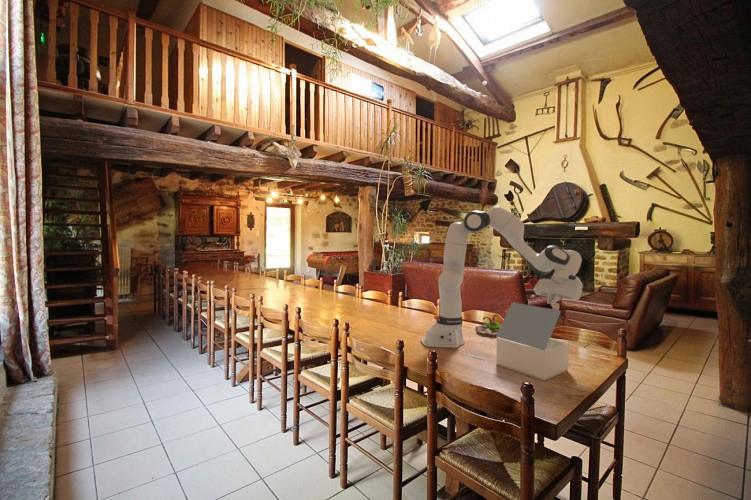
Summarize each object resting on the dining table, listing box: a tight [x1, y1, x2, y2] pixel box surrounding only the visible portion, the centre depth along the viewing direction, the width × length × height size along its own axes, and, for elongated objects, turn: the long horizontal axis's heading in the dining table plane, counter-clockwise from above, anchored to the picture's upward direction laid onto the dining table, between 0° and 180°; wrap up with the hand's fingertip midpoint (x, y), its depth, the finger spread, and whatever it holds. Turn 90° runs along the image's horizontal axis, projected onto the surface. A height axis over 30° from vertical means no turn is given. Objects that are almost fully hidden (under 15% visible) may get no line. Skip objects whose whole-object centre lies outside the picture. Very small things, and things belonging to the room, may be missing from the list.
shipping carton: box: [496, 337, 570, 382], centre depth 154 cm, size 18×22×12 cm
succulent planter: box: [475, 314, 502, 339], centre depth 207 cm, size 20×20×11 cm
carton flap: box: [496, 301, 562, 350], centre depth 151 cm, size 18×22×1 cm
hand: (550, 303), depth 161 cm, fingers closed
